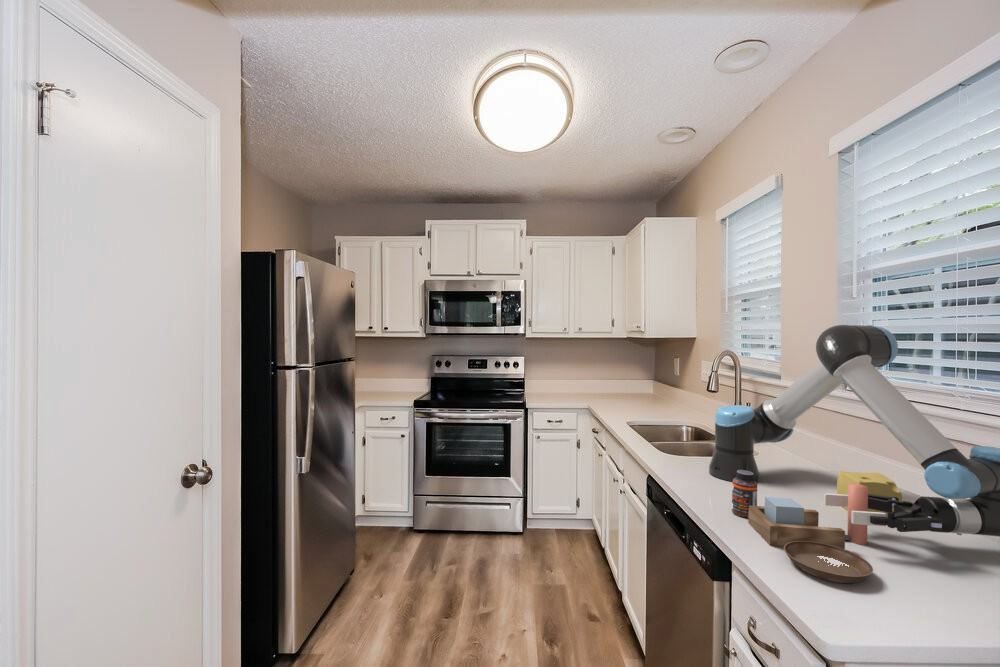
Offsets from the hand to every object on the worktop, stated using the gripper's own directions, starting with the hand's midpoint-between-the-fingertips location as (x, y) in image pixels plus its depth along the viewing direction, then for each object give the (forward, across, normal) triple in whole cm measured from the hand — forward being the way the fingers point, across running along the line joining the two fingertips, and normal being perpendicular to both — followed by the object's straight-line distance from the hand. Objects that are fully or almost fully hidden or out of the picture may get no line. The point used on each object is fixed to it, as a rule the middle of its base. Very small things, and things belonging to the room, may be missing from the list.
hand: (837, 507), depth 105 cm
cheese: (-18, +19, -8) cm, 27 cm away
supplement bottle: (+16, +12, -8) cm, 21 cm away
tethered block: (+4, 0, -7) cm, 9 cm away
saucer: (+10, -15, -8) cm, 20 cm away
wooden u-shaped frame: (+9, 0, -8) cm, 12 cm away
